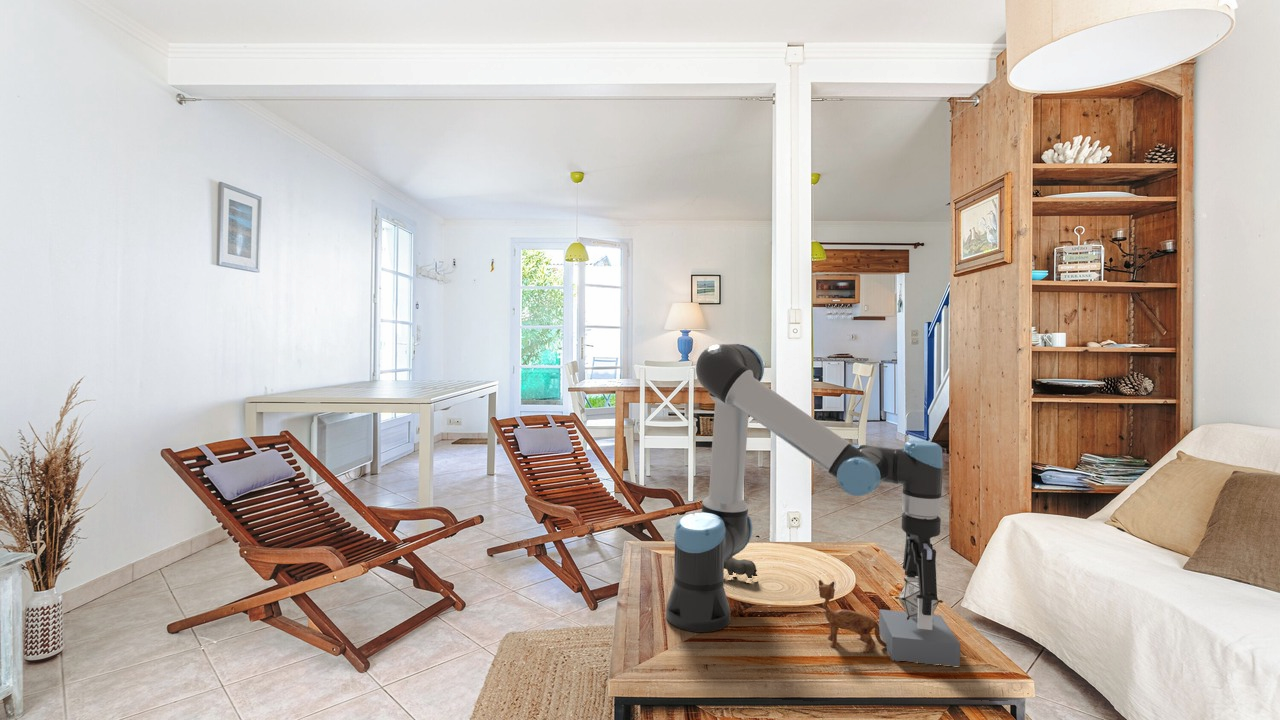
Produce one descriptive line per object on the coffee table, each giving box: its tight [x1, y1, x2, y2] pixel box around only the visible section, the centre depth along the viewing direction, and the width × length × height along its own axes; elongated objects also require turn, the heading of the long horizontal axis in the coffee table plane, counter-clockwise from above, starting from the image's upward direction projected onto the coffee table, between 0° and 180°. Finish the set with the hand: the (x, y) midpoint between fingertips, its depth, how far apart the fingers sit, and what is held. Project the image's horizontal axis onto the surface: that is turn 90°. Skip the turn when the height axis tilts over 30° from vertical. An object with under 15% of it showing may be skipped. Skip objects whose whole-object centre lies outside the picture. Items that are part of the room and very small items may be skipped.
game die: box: [893, 577, 944, 622], centre depth 129 cm, size 9×8×10 cm
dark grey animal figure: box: [724, 556, 758, 579], centre depth 165 cm, size 4×14×6 cm, turn 66°
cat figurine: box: [818, 579, 886, 653], centre depth 130 cm, size 18×7×14 cm, turn 81°
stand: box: [878, 608, 961, 667], centre depth 129 cm, size 13×13×5 cm
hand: (917, 617), depth 129 cm, fingers closed on game die, 10 cm apart
